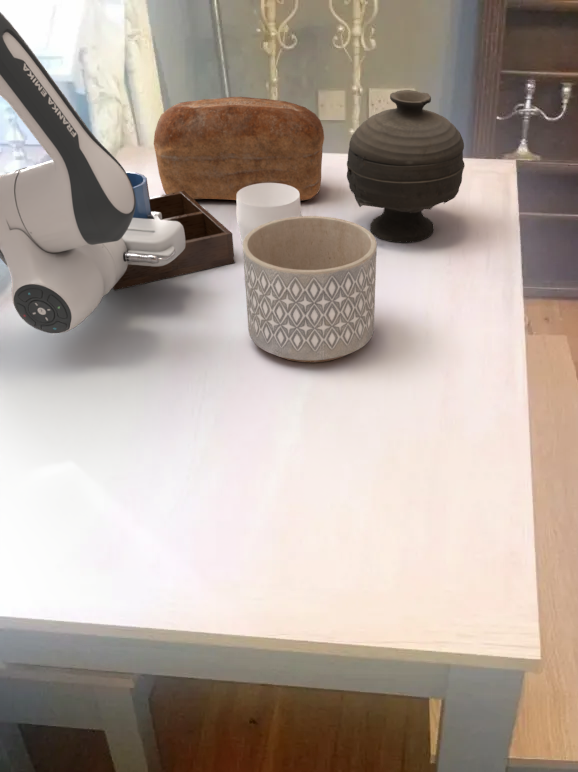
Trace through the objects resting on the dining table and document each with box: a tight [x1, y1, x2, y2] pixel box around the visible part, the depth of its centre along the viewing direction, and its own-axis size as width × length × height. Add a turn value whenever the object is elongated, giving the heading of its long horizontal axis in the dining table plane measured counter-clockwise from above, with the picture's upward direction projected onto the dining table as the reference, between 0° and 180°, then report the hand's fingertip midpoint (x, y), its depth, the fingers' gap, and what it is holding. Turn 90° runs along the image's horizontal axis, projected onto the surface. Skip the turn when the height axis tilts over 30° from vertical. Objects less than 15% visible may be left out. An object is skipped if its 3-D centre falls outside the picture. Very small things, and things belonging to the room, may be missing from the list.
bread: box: [153, 96, 325, 202], centre depth 149 cm, size 12×28×14 cm, turn 88°
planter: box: [242, 215, 378, 363], centre depth 114 cm, size 16×16×13 cm
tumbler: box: [126, 171, 152, 219], centre depth 128 cm, size 7×7×11 cm
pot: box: [346, 89, 465, 244], centre depth 137 cm, size 18×18×20 cm
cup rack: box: [112, 191, 236, 291], centre depth 136 cm, size 19×19×4 cm
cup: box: [235, 183, 303, 247], centre depth 127 cm, size 9×9×12 cm
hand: (129, 214), depth 128 cm, fingers closed on tumbler, 7 cm apart
